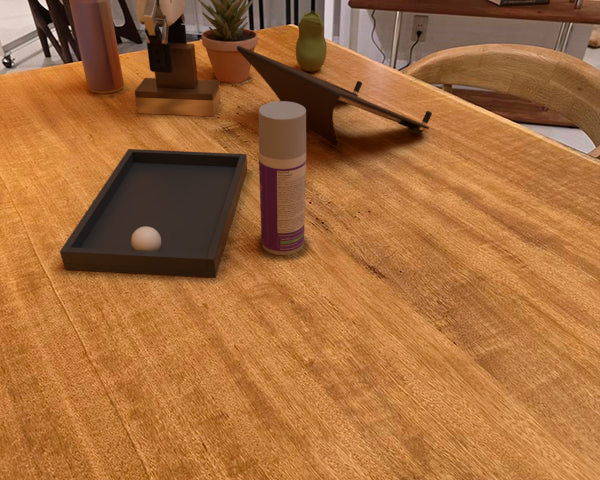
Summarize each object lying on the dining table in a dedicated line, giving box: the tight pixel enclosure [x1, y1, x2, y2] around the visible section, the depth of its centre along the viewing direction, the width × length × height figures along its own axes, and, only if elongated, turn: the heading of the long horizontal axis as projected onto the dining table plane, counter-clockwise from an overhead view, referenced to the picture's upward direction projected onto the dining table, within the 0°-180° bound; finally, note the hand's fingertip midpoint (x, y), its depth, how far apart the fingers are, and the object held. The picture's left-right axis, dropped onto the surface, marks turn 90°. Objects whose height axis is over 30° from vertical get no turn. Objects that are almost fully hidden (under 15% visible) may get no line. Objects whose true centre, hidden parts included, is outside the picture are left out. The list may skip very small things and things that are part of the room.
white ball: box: [131, 227, 161, 252], centre depth 61 cm, size 3×3×3 cm
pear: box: [295, 10, 328, 73], centre depth 105 cm, size 6×5×10 cm
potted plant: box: [197, 0, 259, 84], centre depth 98 cm, size 10×10×25 cm
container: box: [258, 100, 307, 256], centre depth 60 cm, size 5×5×15 cm
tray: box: [59, 148, 248, 278], centre depth 68 cm, size 16×24×2 cm, turn 176°
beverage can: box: [68, 0, 125, 95], centre depth 95 cm, size 6×6×15 cm
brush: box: [134, 43, 221, 117], centre depth 91 cm, size 12×6×10 cm, turn 86°
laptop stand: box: [237, 46, 433, 147], centre depth 86 cm, size 23×23×9 cm
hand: (169, 61), depth 89 cm, fingers open, 9 cm apart
